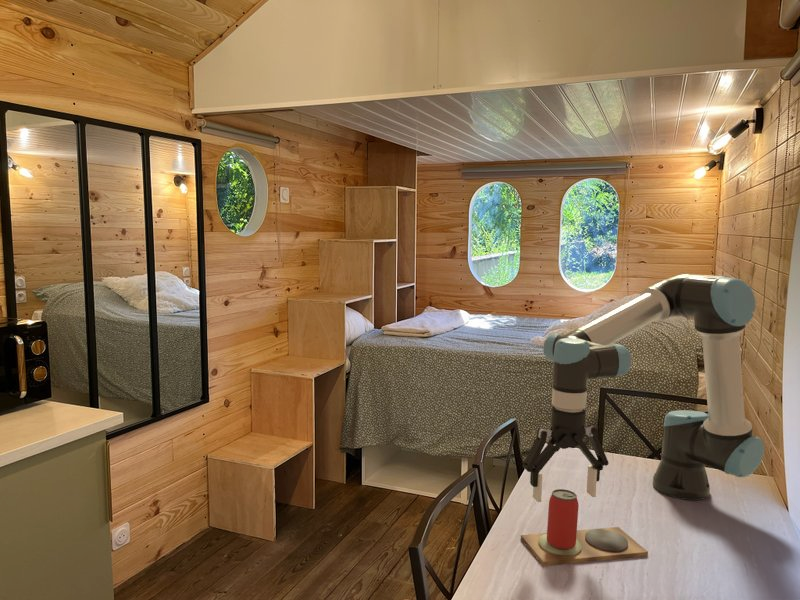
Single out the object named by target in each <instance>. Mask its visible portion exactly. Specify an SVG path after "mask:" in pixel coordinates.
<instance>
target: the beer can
mask: <svg viewBox="0 0 800 600" xmlns="http://www.w3.org/2000/svg"><path fill="white" fill-rule="evenodd" d="M578 500H579V499H578V496H577V494H576V493H575V491H572V490H569V489H565V488H564V489H563V488H557V489H554V490H552V492H551V495H550V498H549V500H548V513H547V526H546V527H547V528H546V529H547V530H546V533H547V541H548V543H549V544H550V545H551V546H553V547H555V548H557V549H563V550H567V549H571V548H573V547H574V546H575V545H576V535H577V530H578V522H579V521H578V519H579V501H578Z"/></svg>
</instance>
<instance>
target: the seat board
mask: <svg viewBox="0 0 800 600" xmlns="http://www.w3.org/2000/svg"><path fill="white" fill-rule="evenodd" d="M520 540H521V542H523V544H524V545H525V546H526V547H527V548H528V550H529V551H530V552H531V553H532V554H533V556H534V557H535V558H536V560H538V562H539V563H540V564H541V566H543V567H545V566H546V567H547V566H558V565H568V564H569V565H570V564H579V563H588V562H598V561H610V560H619V559H631V558H640V557H648V555H649V551H648V550H647V549H645V548H644V547H643V546H642V545H640V543H638V542H637V541H636V540H635V539H633V538H632V537H631V536H630V535H629V534H627V533H626V531H624V530H623V529H621V528H620V527H619V526H613V527H612V526H611V527H603V528H591V529H589V528H587V529H581V530H580V529H577V535H576V545H575V546H574V547H573V548H571V549H567V550H563V549H557V548H555V547H553V546H551V545H550V544H549V543H548V541H547V532H543V533H531V534H521V535H520Z"/></svg>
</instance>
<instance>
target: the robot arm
mask: <svg viewBox="0 0 800 600" xmlns="http://www.w3.org/2000/svg"><path fill="white" fill-rule="evenodd" d="M755 310H756V297H755V294H754V292H753V289H752V287H751V286H750V285H749V284H748V283H747V282H746V281H744V280H743V279H740V278H737V277H732V276H731V277H730V276H727V275H712V274H711V275H709V274H708V275H707V274H697V273H683V274H678V275H673V276H671V277H668V278H664V279H663V280H661V281H658V282H656V283H654V284H651V285H650V286H647V287H646V288H644V289H643V290H642V291H641V293H640V295H639V296H637V297H635V298H633V299H631V300H629V301H628V302H626V303H623V304H622V305H620V306H618V307H616V308H613V309H612V310H609V312H606V313H605V314H603V315H601V316H598V317H597V318H596V319H593V320H591V321H590V322H587V323H585V324H584V325H582V326H580V327H578V328H575V329H574V330H572V331H570V332H568V333H566V334H564V333H551V334H550V335H549V336H547V338H546V339H545V340H544V343H543V347H542V349H543V354H544V357H545V359H546V360H548V361H550V362H552V363H553V364H552V365H553V366H552V367H553V368H552V393H551V405H552V407H551V410H550V411H551V414H550V415H551V416H550V422H551V423H550V424H551V425H550V428H549V429H543V428H541V427H539V428H538V429H537V432H536V438H535V440H534V441H533V443H532V446H531V447H530V450H529V451H528V454H527V455H526V458H525V460H524V461H523V463H522V467H523V468H524V469H525V471H527V472H528V473H530V476H529V478H530V480H529V483H530V485H531V486H532V487H533V489H532V498H533V499H534V500H536V502H537V503H542V491H543V490H542V488H543V473H541V471H542V469H544V468H545V466H546V464H548V462H549V461H550V460H551V458H552V457H553V456H554V455H555V454H556V452H559V450H560V449H562V450H566V449H575V448H576V447H577V448H578V449H579V450H580V451H581V453H582V454H583V455H584V456H585V458H586V459H587V460H588V462H589V463H590V464H589V465H587V477H586V478H587V481H586V493H587V494H588V495H589V496H591V497H592V498H594V497H595V498H596V497H597V495H596V494H597V482H600V477H601V476H600V474H601V471H602V470H603V469H604V466H605V467H607V466H609V464H610V463H609V460H608V458H607V455H606V453H605V451H604V448H603V446H602V443H601V442H600V439H599V432H598V428H596V427H595V426H593V425H592V424H588V425H587V426H586V427H585V425H586V419H587V418H586V416H587V415H586V414H587V411H586V408H587V400H588V398H587V395H588V394H587V393H588V383H589V381H591V380H599V379H608V378H611V379H613V378H616V377H621V376H624V375H626V374H627V373H629V371H630V369H631V366H632V355H631V354H630V351H629V350H628V349H627V347H625V346H624V345H623V344H619V343H618V344H617V343H616V342H618V341H621V340H622V339H624V338H626V337H628V336H629V335H631V334H633V333H635V332H637V331H638V330H640V329H642V328H644V327H645V326H647V325H650V324H651V323H653V322H654V321H655V322H656V321H657V322H661V321H665V320H667V319H668V318H671V317H672V318H673V317H682V318H683V317H685V318H691V319H693V323H694V330H695V332H697V333H698V334H699V335H701V341H702V342H701V343H702V352H703V353H702V354H703V365H704V366H703V367H704V377H705V392H706V401H707V413H706V412H703V411H698V410H697V411H696V410H688V409H687V410H686V409H685V410H683V409H681V410H680V409H678V410H671V411H669V412H667V413H666V414H665V416H664V421H663V422H664V423H663V427H662V428H663V430H662V443H661V456H660V458H661V459H660V462H659V463H658V466H657V468H656V471H655V473H654V475H653V476H652V487H653V488H655V490H657V491H658V492H660V493H662V494H664V495H667V496H670V497H674V498H678V499H681V500H690V501H692V500H693V501H697V500H698V501H699V500H705V499H707V498H709V497H710V492H711V484H710V483H709V478H708V474H707V471H706V466H709V467H711V468H714V469H716V470H718V471H721V472H722V473H723V472H724V473H725V474H726V475H730V476H734V477H736V478H746V477H749V476H750V475H753V473H754V472H755V471H756V470H757V469H758V467H759V466H760V464H761V463H762V460H763V458H764V453H765V445H764V442H763V440H762V439H761V438H760V437H759V436H756V435H754V434H753V424H752V422H751V421H750V420H748V419H747V418H746V415H745V399H744V398H745V397H744V384H743V371H742V370H743V369H742V367H743V366H742V356H741V355H742V354H741V341H740V339H741V338H740V334H741V333H742V332H743V331H745V329H746V328H747V327H746V325H747V324H748V323H750V322H751V320H752V318H753V317H754V312H755ZM586 435H587V437H588V439H589V441H590V444H591V446H592V449H593V451H594V453H595V454H593V453H592V452H591V450H590V449H589V448H588V447H587V445H586V443H585V442H584V441H583V438H584V437H585V436H586ZM549 437H550V439H549ZM548 440H549V441H548ZM546 442H547V443H546ZM545 445H546V446H545ZM595 456H596V457H595Z"/></svg>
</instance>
